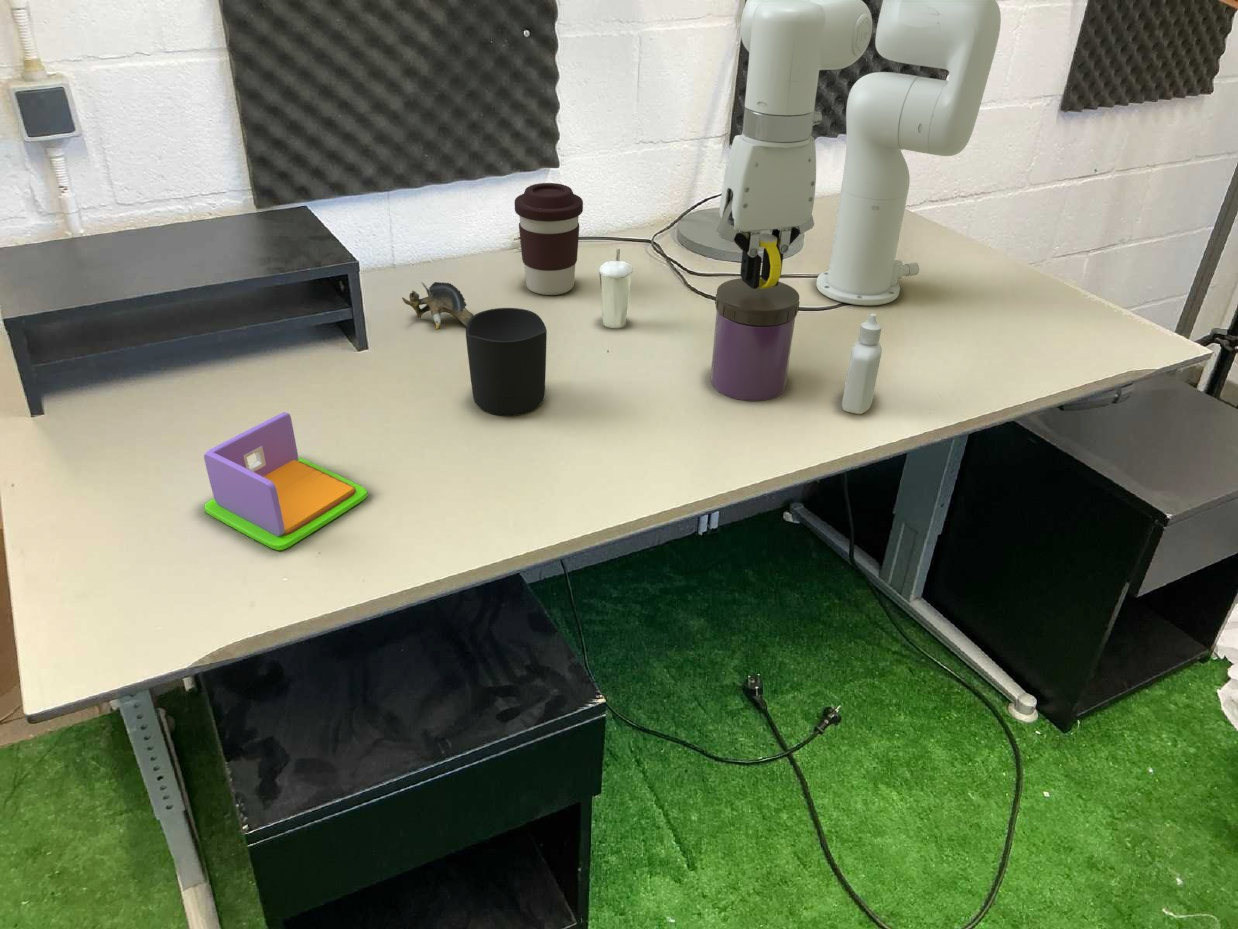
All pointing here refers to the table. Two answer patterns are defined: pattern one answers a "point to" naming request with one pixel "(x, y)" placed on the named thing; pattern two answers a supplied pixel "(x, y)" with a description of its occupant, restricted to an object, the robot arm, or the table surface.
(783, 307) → the jar lid
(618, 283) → the milkshake
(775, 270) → the watch
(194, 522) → the table surface
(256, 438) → the dollhouse room
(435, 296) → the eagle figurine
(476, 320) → the pen holder
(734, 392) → the jar
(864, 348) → the eye dropper bottle
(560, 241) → the coffee cup
